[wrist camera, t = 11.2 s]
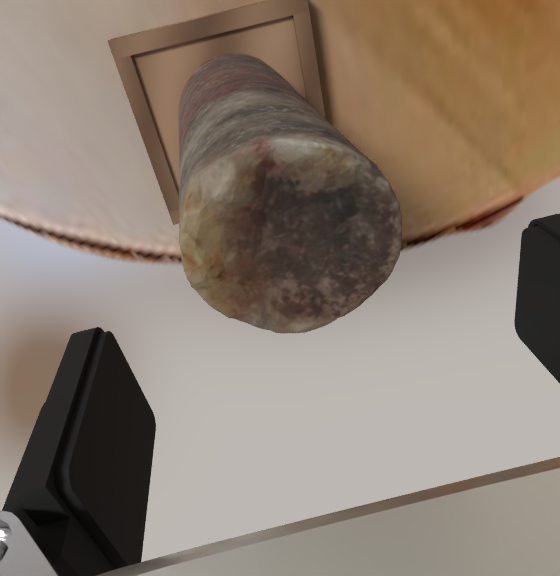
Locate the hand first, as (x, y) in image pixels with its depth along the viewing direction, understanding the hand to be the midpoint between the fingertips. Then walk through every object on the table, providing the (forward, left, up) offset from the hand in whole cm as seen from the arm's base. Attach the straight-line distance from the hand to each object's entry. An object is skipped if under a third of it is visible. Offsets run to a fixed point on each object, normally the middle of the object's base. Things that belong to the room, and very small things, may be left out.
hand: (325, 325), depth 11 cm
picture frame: (+1, 0, -26) cm, 26 cm away
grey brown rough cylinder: (0, 0, -25) cm, 25 cm away
